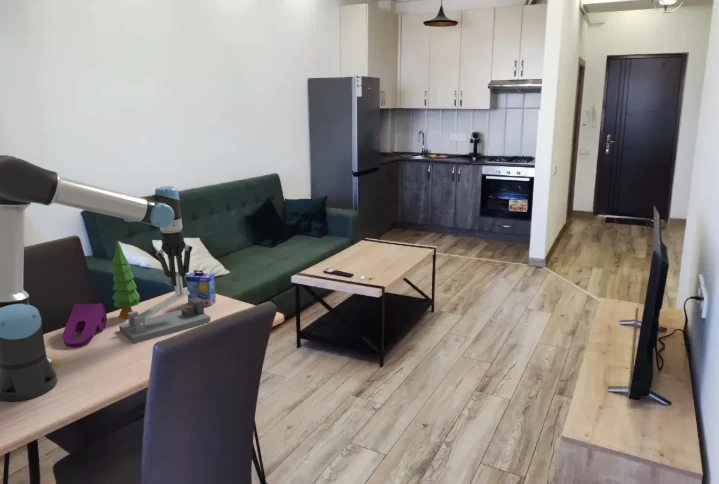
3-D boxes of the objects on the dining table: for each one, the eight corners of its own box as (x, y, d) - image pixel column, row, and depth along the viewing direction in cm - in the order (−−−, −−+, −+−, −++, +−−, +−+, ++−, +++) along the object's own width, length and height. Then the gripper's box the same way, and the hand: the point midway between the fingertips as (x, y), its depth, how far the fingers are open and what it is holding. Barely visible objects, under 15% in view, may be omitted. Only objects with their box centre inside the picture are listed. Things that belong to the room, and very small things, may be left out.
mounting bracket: (94, 359, 185) (108, 319, 198) (88, 343, 179) (102, 303, 193) (65, 360, 184) (81, 320, 197) (58, 344, 178) (74, 304, 192)
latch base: (133, 343, 183) (131, 324, 181) (119, 330, 193) (117, 312, 191) (210, 321, 200) (209, 304, 198) (194, 311, 210) (193, 294, 209)
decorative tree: (123, 311, 210) (114, 236, 203) (147, 311, 210) (138, 236, 202) (111, 321, 201) (101, 243, 193) (135, 321, 200) (127, 243, 193)
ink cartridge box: (187, 305, 217) (184, 270, 213) (193, 300, 222) (190, 266, 218) (211, 306, 215) (208, 271, 212) (216, 301, 221) (214, 267, 217)
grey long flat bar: (137, 325, 187) (135, 321, 187) (133, 322, 190) (131, 318, 190) (190, 294, 198) (188, 290, 197) (185, 291, 201) (183, 287, 200)
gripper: (156, 236, 184) (165, 300, 190) (194, 228, 193) (201, 290, 199) (148, 232, 189) (157, 295, 196) (185, 225, 198) (192, 285, 204)
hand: (179, 292), depth 197 cm, fingers closed
